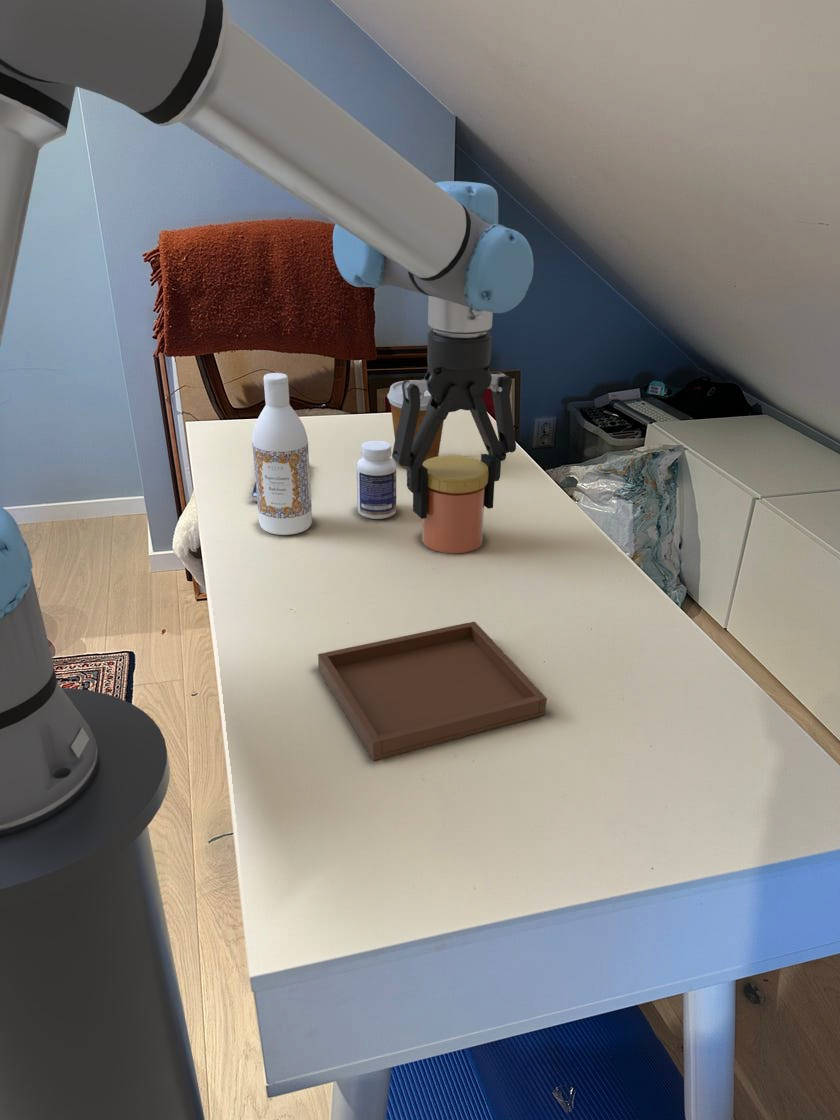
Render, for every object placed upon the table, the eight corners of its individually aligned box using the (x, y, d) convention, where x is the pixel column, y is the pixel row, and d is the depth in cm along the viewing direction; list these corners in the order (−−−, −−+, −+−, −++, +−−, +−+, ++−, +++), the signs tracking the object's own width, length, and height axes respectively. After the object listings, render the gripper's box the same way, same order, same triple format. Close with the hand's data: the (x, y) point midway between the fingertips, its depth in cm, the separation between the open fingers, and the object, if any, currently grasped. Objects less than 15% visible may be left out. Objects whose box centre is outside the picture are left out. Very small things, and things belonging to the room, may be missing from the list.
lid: (499, 487, 112) (500, 474, 112) (437, 497, 109) (438, 483, 108) (469, 464, 119) (470, 452, 118) (410, 472, 115) (410, 459, 114)
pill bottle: (402, 516, 124) (402, 449, 119) (366, 522, 122) (364, 453, 117) (387, 502, 128) (387, 436, 123) (352, 507, 126) (350, 440, 121)
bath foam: (253, 534, 117) (239, 381, 106) (266, 513, 123) (254, 366, 112) (306, 538, 117) (297, 385, 106) (316, 516, 123) (309, 370, 112)
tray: (373, 760, 79) (373, 743, 78) (318, 670, 90) (317, 653, 89) (545, 715, 86) (547, 698, 85) (473, 636, 98) (474, 621, 97)
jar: (436, 557, 114) (438, 487, 109) (412, 532, 120) (413, 465, 115) (492, 548, 117) (496, 479, 112) (466, 524, 123) (469, 458, 118)
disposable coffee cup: (375, 460, 142) (374, 385, 136) (421, 448, 148) (422, 376, 142) (413, 478, 136) (413, 400, 130) (459, 465, 142) (462, 390, 136)
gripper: (385, 343, 97) (386, 533, 109) (555, 332, 106) (539, 508, 118) (361, 328, 103) (364, 509, 114) (524, 318, 111) (512, 488, 123)
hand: (453, 509), depth 116 cm, fingers open, 9 cm apart
